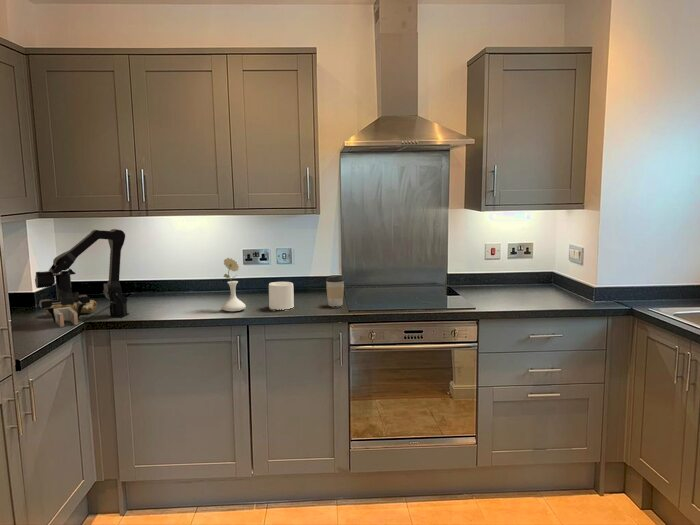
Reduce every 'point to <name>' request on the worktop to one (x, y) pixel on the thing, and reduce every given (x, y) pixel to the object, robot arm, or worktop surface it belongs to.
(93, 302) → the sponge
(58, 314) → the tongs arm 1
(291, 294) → the cup
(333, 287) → the coffee cup
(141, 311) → the worktop surface
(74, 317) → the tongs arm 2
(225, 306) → the flower in vase
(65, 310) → the tongs pivot
